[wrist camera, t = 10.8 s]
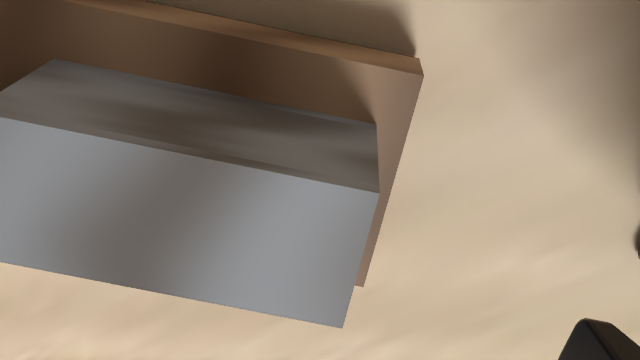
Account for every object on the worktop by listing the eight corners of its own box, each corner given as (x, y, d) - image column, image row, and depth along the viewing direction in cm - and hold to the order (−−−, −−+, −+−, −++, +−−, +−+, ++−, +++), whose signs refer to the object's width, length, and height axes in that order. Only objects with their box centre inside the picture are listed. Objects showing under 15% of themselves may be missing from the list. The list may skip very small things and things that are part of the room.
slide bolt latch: (418, 58, 19) (440, 135, 14) (363, 258, 23) (363, 380, 17) (-326, -98, 18) (-617, -82, 13) (-257, 134, 22) (-461, 223, 17)
